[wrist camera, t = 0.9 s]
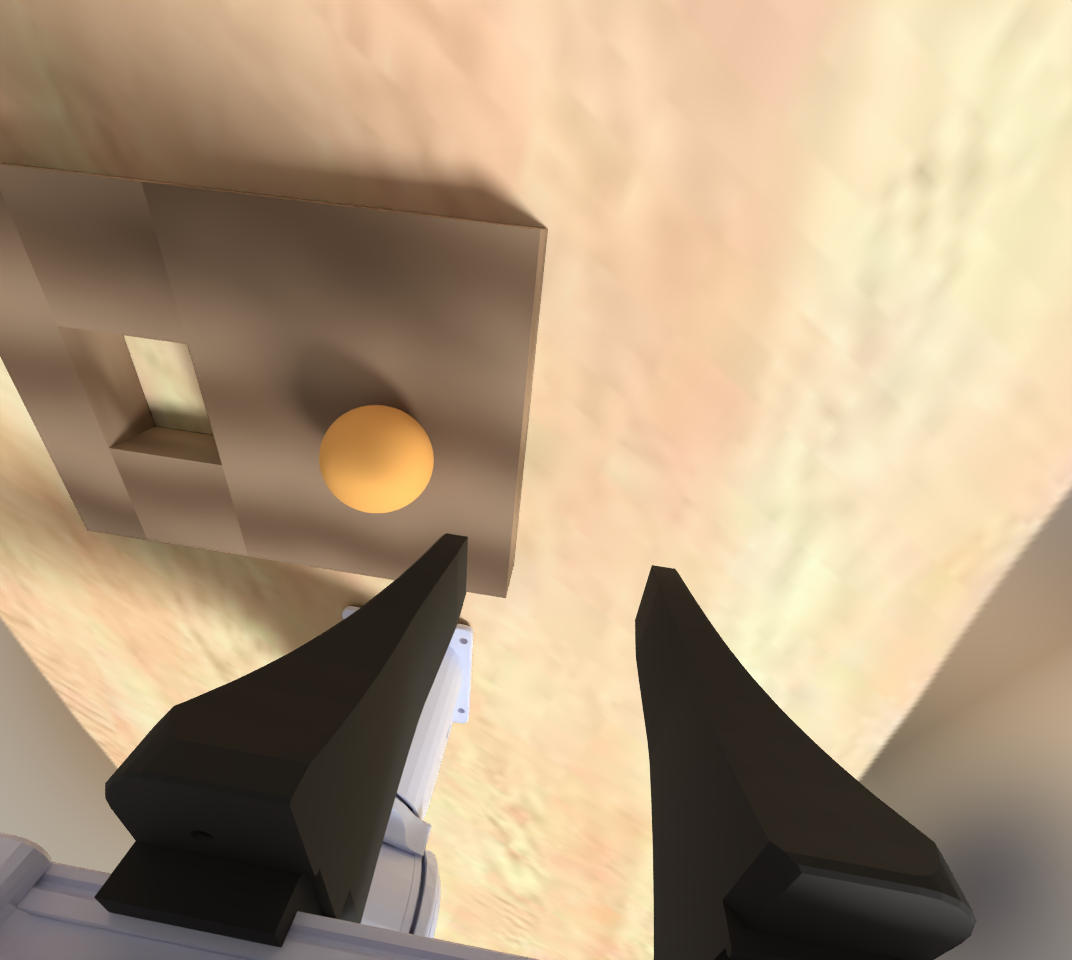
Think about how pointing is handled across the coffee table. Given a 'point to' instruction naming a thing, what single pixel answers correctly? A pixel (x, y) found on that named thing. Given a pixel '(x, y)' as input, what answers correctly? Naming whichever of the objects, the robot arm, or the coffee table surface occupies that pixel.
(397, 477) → the ball
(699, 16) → the coffee table surface
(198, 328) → the plate
